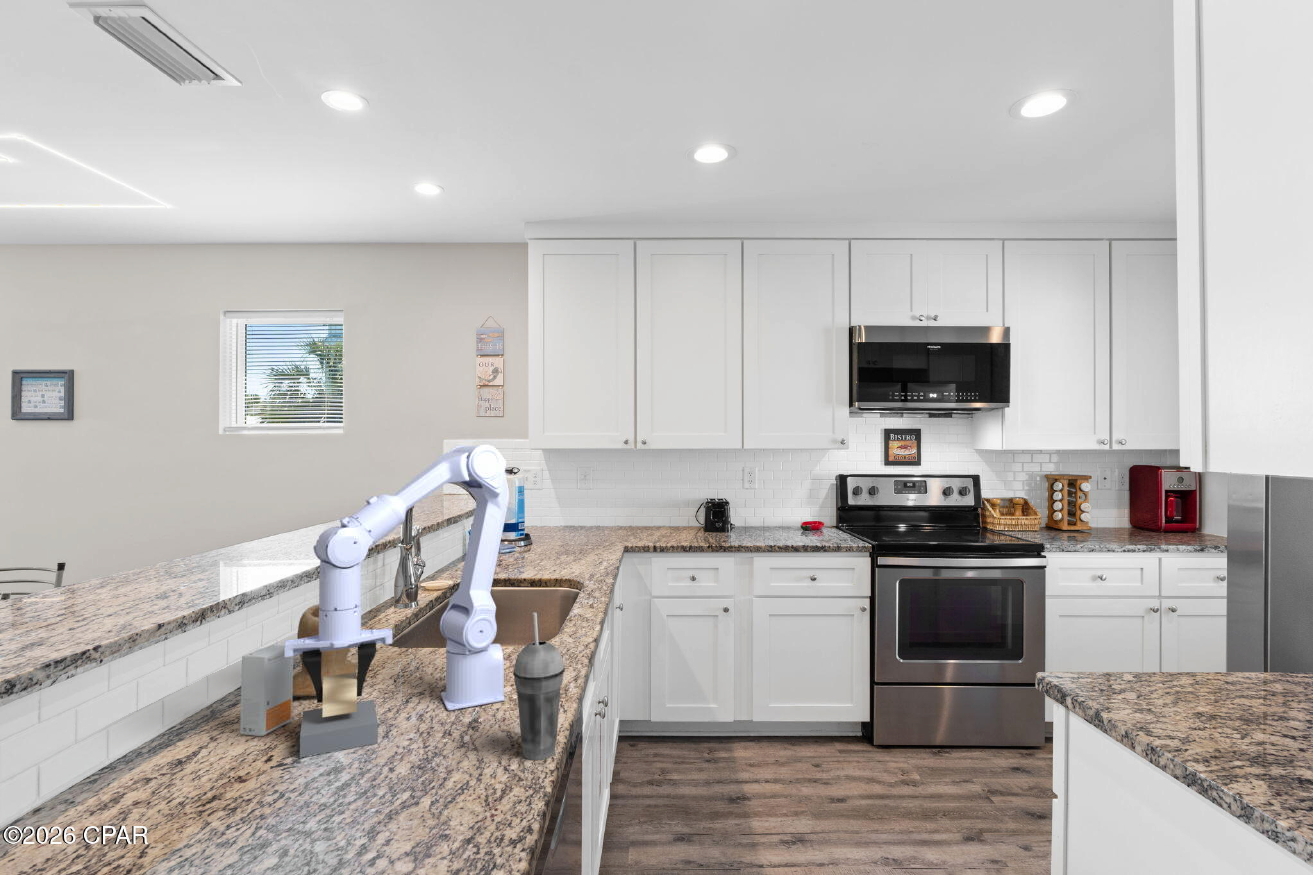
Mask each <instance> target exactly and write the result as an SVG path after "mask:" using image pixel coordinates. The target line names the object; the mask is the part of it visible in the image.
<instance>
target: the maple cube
mask: <svg viewBox="0 0 1313 875" xmlns="http://www.w3.org/2000/svg"><path fill="white" fill-rule="evenodd" d="M357 699H358V697H357V671H356V672H354V673H346V674H339V675H332V676H324V677H323V701H322V708H323V717H328V716H334V715H340V714H346V713H352V712H357V701H358V700H357Z"/></svg>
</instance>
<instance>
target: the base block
mask: <svg viewBox="0 0 1313 875" xmlns="http://www.w3.org/2000/svg"><path fill="white" fill-rule="evenodd" d="M375 704H376V703H375V700H374V699H370V700H364V701H359V702H357V712H352V713H346V714H340V715H334V716H328V717H323V707H320V708H315V709H310V710H304V711H303V710H302V717H301V718H302V719H301V723H300V724H301V726H300V732H299V759H303V758H302V757H304V758H306V757H305V756H309V757H311V756H310V755H314V754H320V755H322V754H321V753H325V754H327V753H326V752H330V753H332V752H331V751H335V752H338V751H337V750H340V751H343V750H342V749H345V750H350V749H355V748H360V747H364V746H365V747H366V746H370V745H375V744H379V743H378V741H379V738H378V736H379V732H378V731H379V729H378V728H379V726H378V725H379V722H378V721H379V720H378V716H377V709H376V705H375ZM314 756H315V755H314Z"/></svg>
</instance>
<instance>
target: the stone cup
mask: <svg viewBox="0 0 1313 875" xmlns="http://www.w3.org/2000/svg"><path fill="white" fill-rule="evenodd" d="M296 635H297V636H296V639H301V638H306V637H311V636H316V635H319V603H317V604H314V605H312V606H309V607H308V608H307V609H306V610H304V612H303V613H302V615H301V616H300V619H299V622H298V628H297V633H296ZM350 649H351V648H345V649H337V650H329V651H322V664H321V676H322V688H323V677H324V676H332V675H339V674H346V673H354V672H356V673H357V672H358V663H356V662H354V661H352V660H350V659H348V655H349V653H350ZM299 658H300V663H301V669H300V671H298V672H296V673H295V674H293V692H292V697H301V698H302V697H315V696H316V692H315V688H314V685H313V682H312V680H311V678H310V675H309V673H308V672H307V670H306V668H305V666H304V664H303V662H302V654H299Z"/></svg>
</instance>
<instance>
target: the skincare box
mask: <svg viewBox="0 0 1313 875" xmlns="http://www.w3.org/2000/svg"><path fill="white" fill-rule="evenodd" d="M293 676H294V655H293V656H292V657H284V645H279V644H271V645H269V646H266V647H263V648H258V649H256V650H255V651H252V652H249V653H247V654H244V655H242V656H241V684H240V685H241V686H240V687H241V689H240V690H241V691H240V719H239V720H240V723H239V724H240V726H239V727H240V728H239V729H240V731H239V734H240V735H245V736H256V737H264V736H266V735H267V734H269V733H271V732H273V731H275V730H277V729H279V728H280V727H282V726H284V725H286V724H289V723H291V722H292V721H293V696H292V692H293Z"/></svg>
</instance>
